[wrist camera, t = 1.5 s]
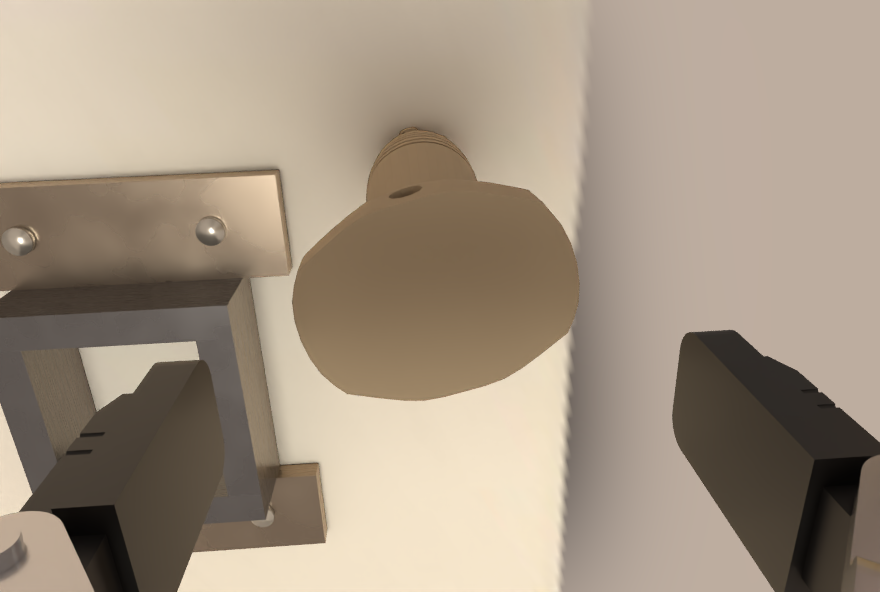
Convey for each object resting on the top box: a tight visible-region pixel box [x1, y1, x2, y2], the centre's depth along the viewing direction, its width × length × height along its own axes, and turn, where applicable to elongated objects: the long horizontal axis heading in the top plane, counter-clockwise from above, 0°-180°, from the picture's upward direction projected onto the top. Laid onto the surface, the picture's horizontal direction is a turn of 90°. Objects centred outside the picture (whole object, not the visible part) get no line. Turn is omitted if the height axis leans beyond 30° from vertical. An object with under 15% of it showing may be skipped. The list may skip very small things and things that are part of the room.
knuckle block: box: [0, 170, 327, 552], centre depth 30 cm, size 20×14×4 cm
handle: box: [292, 127, 579, 401], centre depth 21 cm, size 5×6×15 cm
